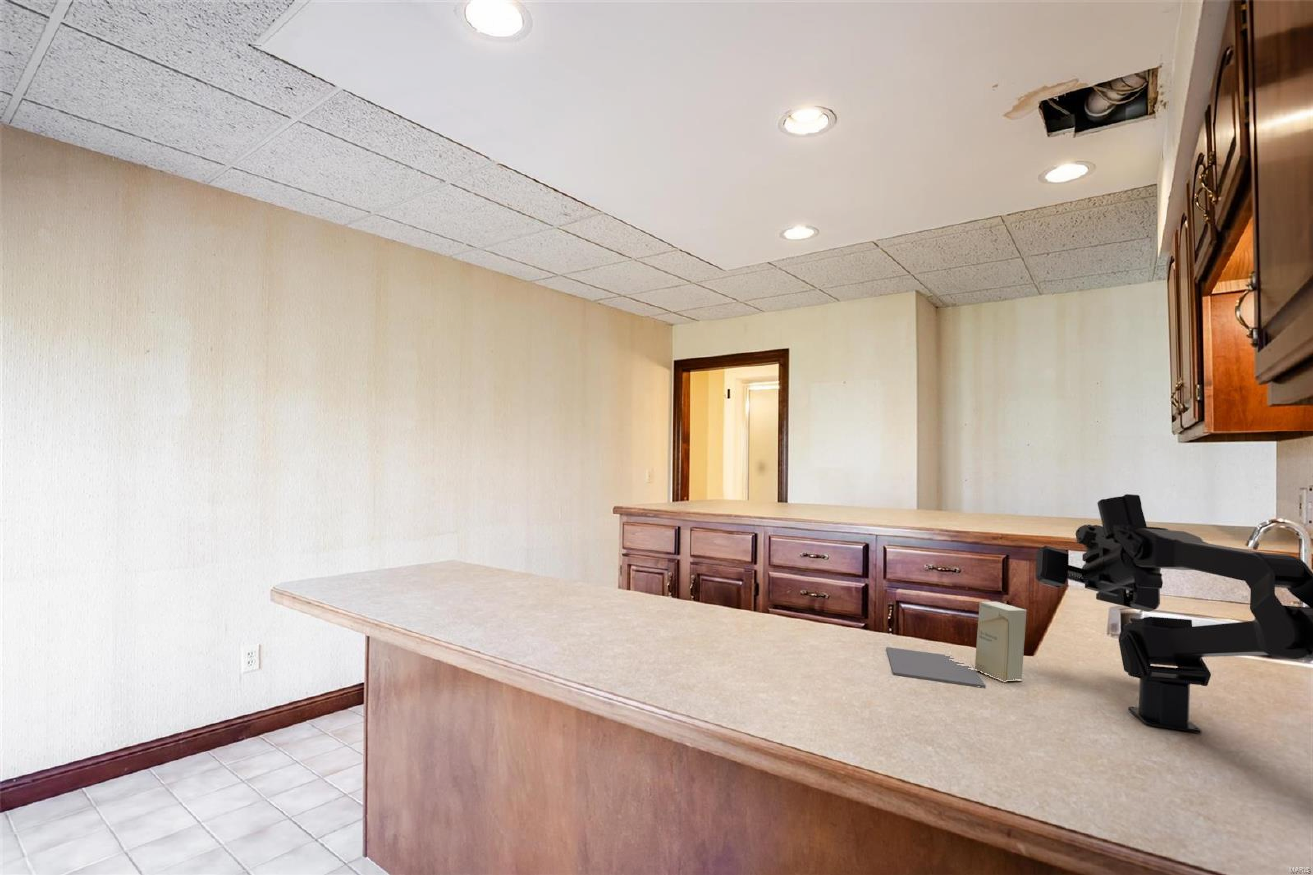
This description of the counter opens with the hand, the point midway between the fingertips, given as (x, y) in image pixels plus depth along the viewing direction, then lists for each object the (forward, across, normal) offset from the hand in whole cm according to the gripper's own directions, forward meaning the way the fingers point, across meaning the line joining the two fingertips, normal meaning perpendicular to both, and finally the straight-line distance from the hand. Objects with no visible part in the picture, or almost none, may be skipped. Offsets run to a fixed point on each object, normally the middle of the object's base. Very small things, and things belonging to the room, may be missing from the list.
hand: (1070, 589), depth 116 cm
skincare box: (-2, +12, +20) cm, 23 cm away
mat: (0, +22, +21) cm, 31 cm away
